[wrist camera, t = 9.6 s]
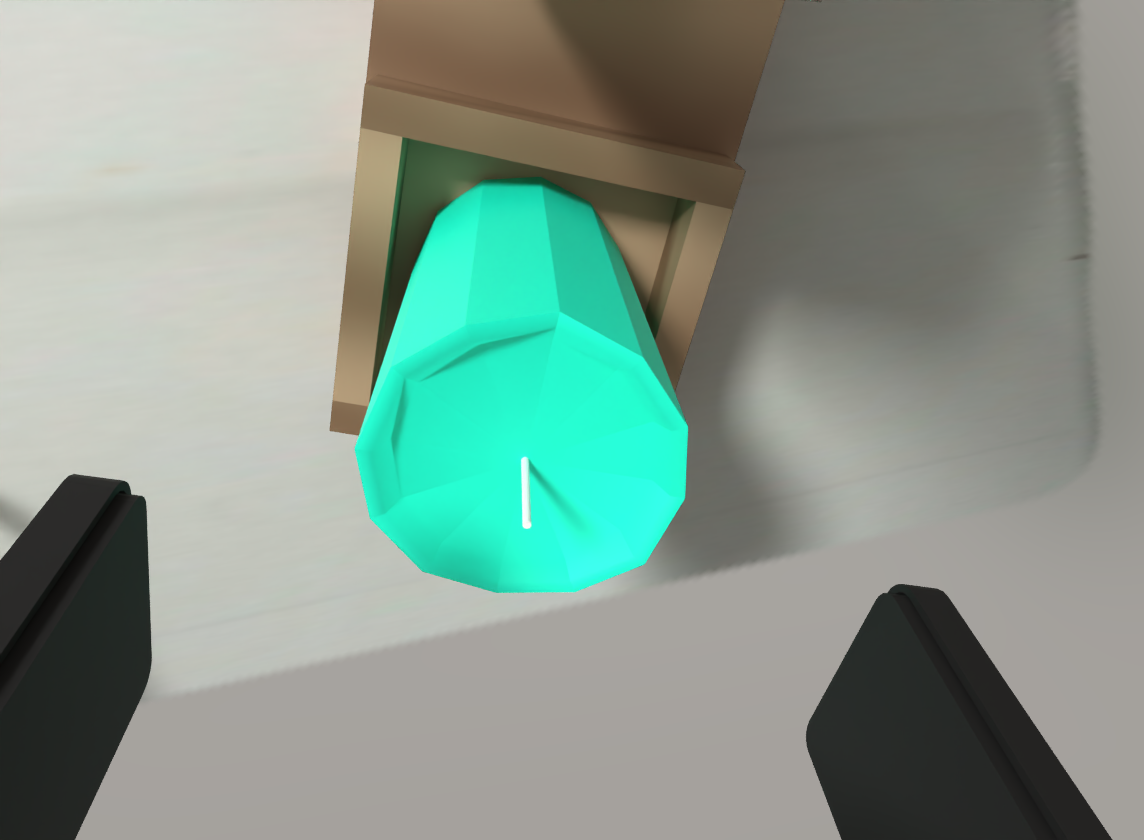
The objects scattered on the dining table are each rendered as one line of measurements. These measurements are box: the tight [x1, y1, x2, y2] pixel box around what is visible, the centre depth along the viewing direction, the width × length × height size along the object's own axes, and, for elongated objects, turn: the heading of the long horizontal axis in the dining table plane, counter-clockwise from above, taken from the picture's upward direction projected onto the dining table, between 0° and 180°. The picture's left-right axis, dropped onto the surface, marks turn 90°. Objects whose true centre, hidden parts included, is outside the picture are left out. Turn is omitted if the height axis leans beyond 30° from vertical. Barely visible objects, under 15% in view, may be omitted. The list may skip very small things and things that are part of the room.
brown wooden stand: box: [330, 0, 822, 435], centre depth 17 cm, size 22×10×14 cm, turn 167°
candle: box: [355, 177, 688, 593], centre depth 18 cm, size 6×6×12 cm
